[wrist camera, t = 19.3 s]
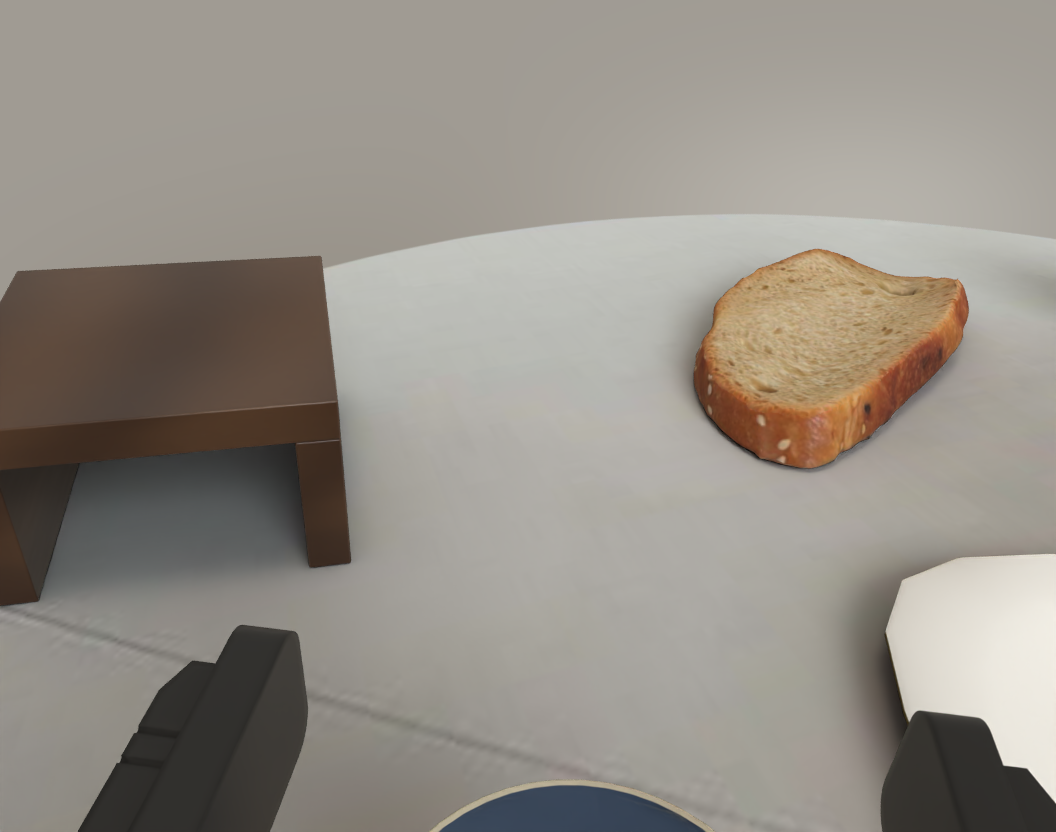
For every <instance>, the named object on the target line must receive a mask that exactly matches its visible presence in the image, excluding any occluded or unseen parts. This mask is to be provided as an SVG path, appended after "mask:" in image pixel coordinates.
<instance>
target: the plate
mask: <svg viewBox="0 0 1056 832" xmlns="http://www.w3.org/2000/svg"><path fill="white" fill-rule="evenodd" d="M885 638H886V643H887V647H888V651H889V655H890V659H891V664H892V668H893V672H894V676H895V681H896V685H897V689H898V693H899V697H900V702H901V706H902V710H903V714H904V717H905V720H906V722H907V725H908V724H909V722H910V720H911V718H912V716H913V714H914V713H915V712H916V711H919V710H921V711H930V712H938V713H946V714H954V715H962V716H970V717H978V718H981V719H982V720H984V721H985V723H986V724H987V725H988V727H989V729H990V731H991V733H992V736H993V738H994V741H995V744H996V747H997V749H998V752H999V755H1000V757H1001V760H1002V763H1003V765H1004V766H1012V767H1020V768H1027V769H1028V770H1029V771H1030V773H1031V774H1032V775H1033V776H1034V777H1035V779H1036V780H1037V781H1038V782H1039V783H1040V785H1041V786H1042V787H1043V788H1044V790H1045V791H1046V792H1047V793H1048V794H1049V796H1050V797H1051V798H1052V799H1053V800H1054V802H1055V803H1056V554H1035V555H1010V556H985V557H961V558H957V559H954V560H952V561H949V562H947V563H944V564H942V565H939V566H936V567H934V568H931V569H929V570H926V571H924V572H921V573H919V574H916V575H914V576H911V577H909V578H906V579H904V580H902V582H901V586H900V589H899V592H898V595H897V598H896V601H895V604H894V607H893V610H892V613H891V616H890V619H889V622H888V625H887V628H886V632H885Z"/></svg>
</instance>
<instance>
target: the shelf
mask: <svg viewBox="0 0 1056 832" xmlns="http://www.w3.org/2000/svg"><path fill="white" fill-rule="evenodd" d="M287 443H295V449H296V458H297V466H298V475H299V483H300V492H301V500H302V509H303V517H304V526H305V535H306V543H307V552H308V560H309V566H310V567H311V568H312V567H320V566H328V565H336V564H344V563H350V562H351V552H350V540H349V528H348V516H347V504H346V492H345V480H344V468H343V456H342V444H341V432H340V420H339V408H338V398H337V389H336V380H335V371H334V362H333V354H332V345H331V336H330V327H329V318H328V310H327V301H326V292H325V283H324V274H323V266H322V257H321V256H311V257H310V256H309V257H289V258H269V259H250V260H231V261H211V262H192V263H171V264H151V265H131V266H111V267H91V268H73V269H52V270H33V271H18V272H17V273H16V274H15V276H14V278H13V280H12V282H11V283H10V285H9V287H8V289H7V291H6V293H5V295H4V296H3V298H2V300H1V301H0V606H3V605H11V604H19V603H27V602H35V601H38V600H39V596H40V593H41V590H42V586H43V583H44V579H45V576H46V573H47V569H48V566H49V563H50V559H51V556H52V552H53V549H54V546H55V542H56V539H57V536H58V532H59V529H60V526H61V522H62V519H63V515H64V512H65V509H66V505H67V502H68V499H69V495H70V492H71V488H72V485H73V482H74V478H75V475H76V472H77V468H78V465H79V463H83V462H94V461H105V460H115V459H126V458H137V457H147V456H158V455H169V454H180V453H190V452H201V451H212V450H223V449H233V448H244V447H255V446H265V445H276V444H287Z"/></svg>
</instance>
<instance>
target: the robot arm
mask: <svg viewBox="0 0 1056 832" xmlns="http://www.w3.org/2000/svg"><path fill="white" fill-rule="evenodd" d="M307 717H308V704H307V696H306V688H305V680H304V673H303V665H302V657H301V649H300V642H299V637H298V634H297V633H296V632H295V631H288V630H280V629H272V628H264V627H255V626H247V625H240V626H238V627H237V628H236V629H235V630H234V631H233V632H232V634H231V636H230V637H229V639H228V641H227V643H226V645H225V647H224V649H223V651H222V653H221V655H220V656H219V658H218V660H217V662H216V664H215V663H207V662H199V661H191V662H190V663H189V664H188V665H187V666H186V667H185V668H183V669H182V670H181V671H180V672H179V673H178V674H177V675H176V676H174V677H173V678H172V679H171V680H170V681H169V682H168V683H166V684H165V685H164V686H163V687H162V688H161V689H160V690H159V691H158V693H157V695H156V696H155V698H154V700H153V701H152V703H151V705H150V707H149V708H148V710H147V712H146V714H145V715H144V717H143V719H142V721H141V722H140V724H139V728H138V732H137V733H134V734H133V736H132V738H131V740H130V741H129V743H128V745H127V747H126V748H125V750H124V752H123V754H122V755H121V756H122V758H121V761H120V763H117V764H116V766H115V767H114V769H113V771H112V773H111V774H110V776H109V778H108V780H107V781H106V783H105V785H104V787H103V788H102V790H101V792H100V794H99V795H98V797H97V799H96V800H95V802H94V804H93V806H92V807H91V809H90V811H89V813H88V814H87V816H86V818H85V820H84V821H83V823H82V825H81V827H80V828H79V830H78V832H270V830H271V827H272V825H273V822H274V820H275V817H276V814H277V812H278V809H279V807H280V804H281V801H282V799H283V796H284V794H285V791H286V788H287V786H288V783H289V781H290V778H291V775H292V773H293V770H294V768H295V765H296V762H297V760H298V757H299V754H300V751H301V748H302V745H303V741H304V737H305V732H306V726H307ZM881 824H882V831H883V832H1056V803H1055V802H1054V800H1053V799H1052V798H1051V797H1050V796H1049V794H1048V793H1047V792H1046V791H1045V790H1044V788H1043V787H1042V786H1041V785H1040V783H1039V782H1038V781H1037V780H1036V779H1035V777H1034V776H1033V775H1032V774H1031V773H1030V771H1029V770H1028V769H1027V768H1020V767H1012V766H1004V765H1003V763H1002V760H1001V757H1000V755H999V752H998V749H997V747H996V744H995V741H994V738H993V736H992V733H991V731H990V729H989V727H988V725H987V724H986V723H985V721H984V720H982V719H981V718H978V717H970V716H962V715H954V714H946V713H938V712H930V711H921V710H919V711H916V712H915V713H914V714H913V716H912V718H911V720H910V722H909V724H908V727H907V729H906V731H905V734H904V736H903V739H902V741H901V743H900V746H899V748H898V750H897V753H896V755H895V757H894V760H893V762H892V765H891V767H890V769H889V772H888V774H887V776H886V779H885V782H884V785H883V789H882V795H881Z"/></svg>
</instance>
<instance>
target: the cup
mask: <svg viewBox="0 0 1056 832" xmlns="http://www.w3.org/2000/svg"><path fill="white" fill-rule="evenodd" d="M429 832H715V831H714V830H713V829H711V828H710V827H709V826H708V825H706V824H705V823H703V822H702V821H700V820H699V819H697V818H695V817H694V816H692V815H691V814H689V813H687V812H686V811H684V810H682V809H681V808H679V807H676V806H674V805H672V804H670V803H668V802H666V801H664V800H662V799H660V798H658V797H655V796H652V795H649V794H647V793H644V792H641V791H638V790H635V789H632V788H628V787H624V786H620V785H615V784H611V783H606V782H598V781H590V780H548V781H539V782H531V783H527V784H523V785H518V786H514V787H510V788H506V789H503V790H501V791H498V792H495V793H492V794H490V795H487V796H484V797H482V798H480V799H478V800H476V801H474V802H472V803H470V804H468V805H466V806H464V807H462V808H460V809H459V810H457V811H456V812H454V813H453V814H451V815H450V816H448V817H447V818H445V819H444V820H442V821H441V822H439V823H438V824H437V825H436V826H435V827H433V828H432V829H431V830H430V831H429Z"/></svg>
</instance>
